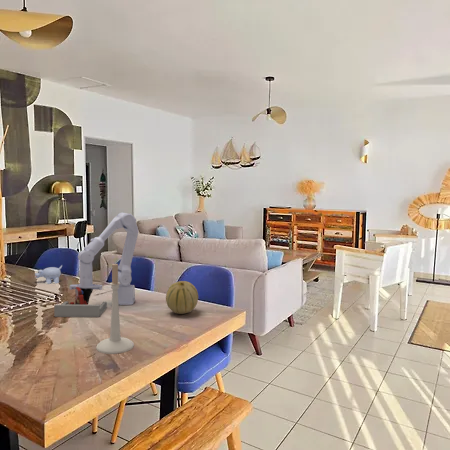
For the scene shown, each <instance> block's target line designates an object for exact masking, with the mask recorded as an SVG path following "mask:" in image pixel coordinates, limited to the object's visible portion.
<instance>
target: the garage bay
mask: <svg viewBox="0 0 450 450" xmlns="http://www.w3.org/2000/svg"><path fill="white" fill-rule="evenodd" d="M107 304H108V303H107V301H103V302H101V304H88V305H75V304H74V305H70V302H69V301H67V300H65V301H64V302H63V303H61V304H59V303H58V304H54V306H53V307H54V309H53V310H54V313H53V314H54V316H53V317H55V318H72V317H73V318H99V317H101V316H102V314H103V313H104V312H105V310H107V308H108V307H107V306H108V305H107Z"/></svg>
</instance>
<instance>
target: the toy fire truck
mask: <svg viewBox="0 0 450 450" xmlns="http://www.w3.org/2000/svg"><path fill="white" fill-rule="evenodd" d="M74 290H75V291H74V292H75V297H74V300H75V302H74V301H70V302H69V305H89V303H88V304H87V303H86V301H84V299H83V291H82V290H81V289H80V288H79V287H76V288H75V289H74Z"/></svg>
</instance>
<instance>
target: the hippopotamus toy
mask: <svg viewBox="0 0 450 450" xmlns="http://www.w3.org/2000/svg"><path fill="white" fill-rule="evenodd" d="M62 267H63V265H60V266H59V267H55V266H50V267H46V268H44V269H38V271H37V272H35V273H34V278H35V279H38V278H44V284H45V285H47V284H48V285H50V284H59V283H60V277H61V274H62V272H61V269H62Z"/></svg>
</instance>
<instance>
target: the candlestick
mask: <svg viewBox="0 0 450 450" xmlns="http://www.w3.org/2000/svg"><path fill="white" fill-rule="evenodd" d="M118 266H119V264H118V263H112V264H111V282H110V283H109V285H111V286H110V287H111V290H112V293H111V312H110V313H111V314H110V332H109V335H110V336H109V337H108V338H105V339H103V340H100V342H98V343H97V345H96V351H97V352H99V353H102V354H107V355H115V354H116V355H117V354H123V353H126V352H129V351H130V350H132V349H134V346H135V343H134V341H132V339H129V338H127V337H124V336H121V325H120V324H121V323H120V306H119V303H118V292H117V291H118V288H119V284H120V283H119V282H118Z"/></svg>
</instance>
